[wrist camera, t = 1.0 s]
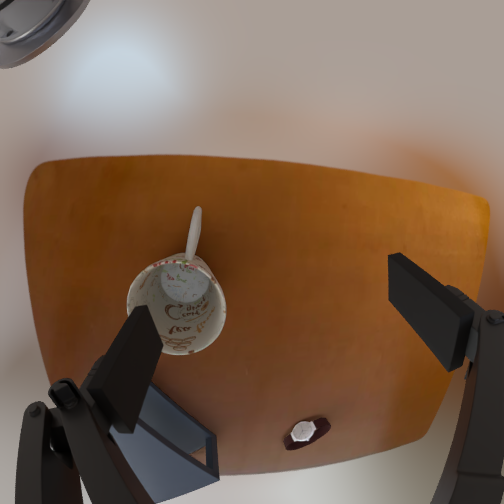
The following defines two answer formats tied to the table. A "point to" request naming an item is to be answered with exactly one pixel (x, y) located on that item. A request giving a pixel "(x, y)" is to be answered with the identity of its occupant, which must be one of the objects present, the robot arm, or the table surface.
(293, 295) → the table surface
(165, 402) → the shelf
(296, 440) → the watch
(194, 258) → the mug
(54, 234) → the table surface
